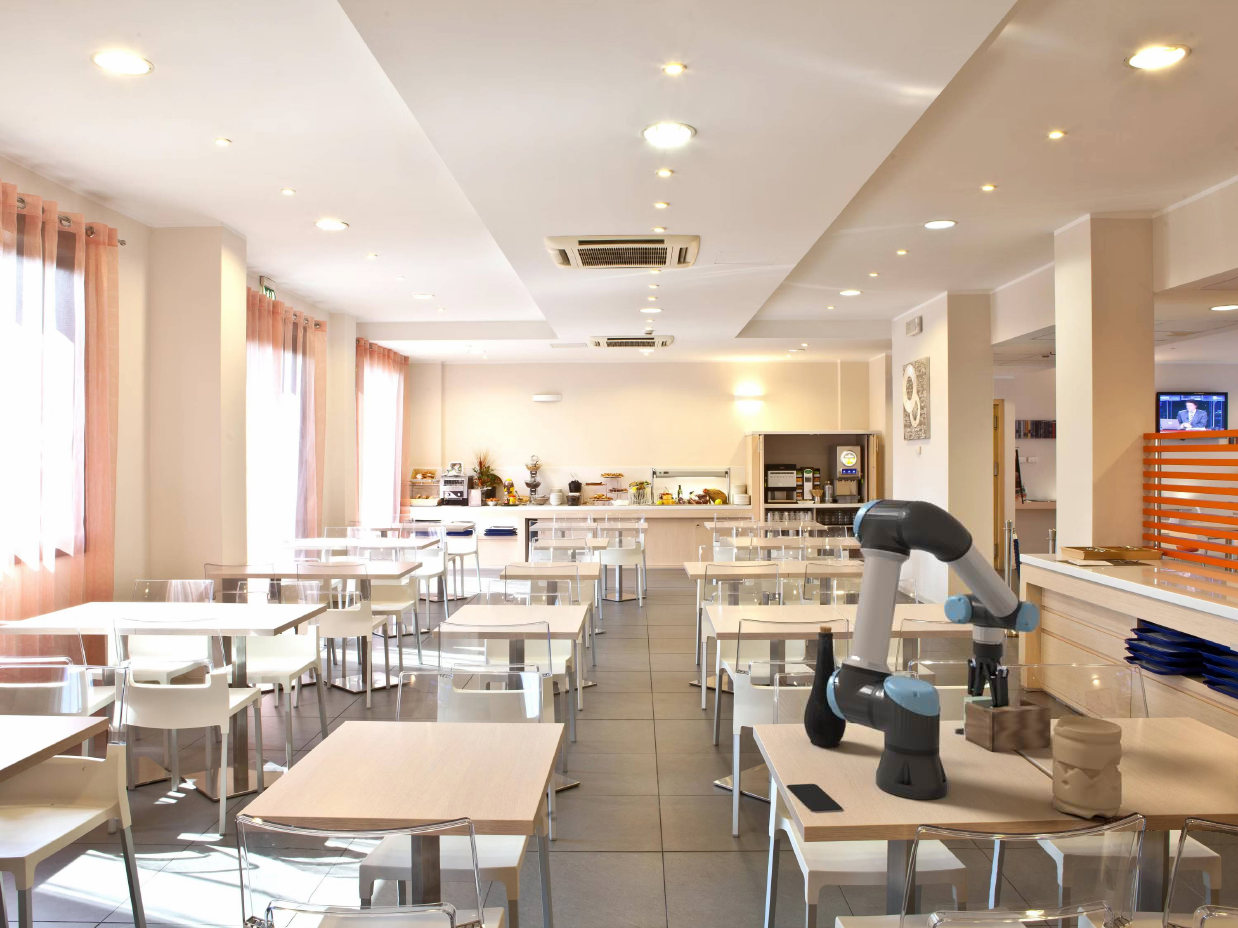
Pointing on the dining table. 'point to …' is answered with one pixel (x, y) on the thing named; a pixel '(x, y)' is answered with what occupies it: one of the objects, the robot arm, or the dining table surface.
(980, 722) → the cabinet
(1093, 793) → the container
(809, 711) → the bottle
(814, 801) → the smartphone
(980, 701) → the door
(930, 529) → the robot arm
